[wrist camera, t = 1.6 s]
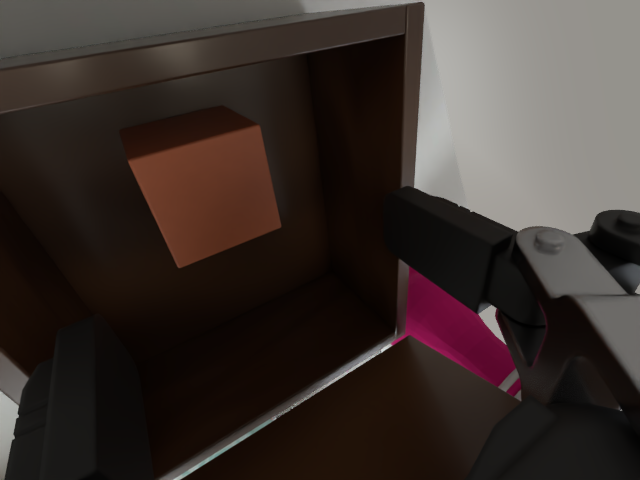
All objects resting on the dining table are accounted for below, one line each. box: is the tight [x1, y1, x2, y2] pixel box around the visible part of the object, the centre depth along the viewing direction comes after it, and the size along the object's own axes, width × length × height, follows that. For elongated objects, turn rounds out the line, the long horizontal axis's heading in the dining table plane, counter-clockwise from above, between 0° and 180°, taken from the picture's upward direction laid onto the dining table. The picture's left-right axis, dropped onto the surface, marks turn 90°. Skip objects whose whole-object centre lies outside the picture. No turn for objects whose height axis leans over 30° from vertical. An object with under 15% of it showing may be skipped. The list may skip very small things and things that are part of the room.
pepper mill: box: [390, 266, 521, 401], centre depth 23 cm, size 7×7×20 cm
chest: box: [0, 2, 425, 480], centre depth 15 cm, size 17×16×8 cm
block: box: [119, 105, 281, 268], centre depth 14 cm, size 5×5×5 cm
